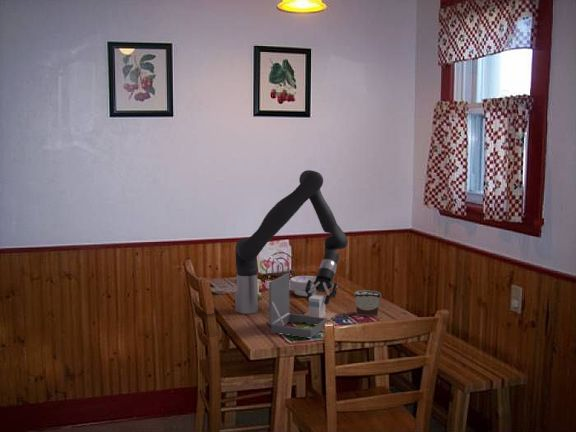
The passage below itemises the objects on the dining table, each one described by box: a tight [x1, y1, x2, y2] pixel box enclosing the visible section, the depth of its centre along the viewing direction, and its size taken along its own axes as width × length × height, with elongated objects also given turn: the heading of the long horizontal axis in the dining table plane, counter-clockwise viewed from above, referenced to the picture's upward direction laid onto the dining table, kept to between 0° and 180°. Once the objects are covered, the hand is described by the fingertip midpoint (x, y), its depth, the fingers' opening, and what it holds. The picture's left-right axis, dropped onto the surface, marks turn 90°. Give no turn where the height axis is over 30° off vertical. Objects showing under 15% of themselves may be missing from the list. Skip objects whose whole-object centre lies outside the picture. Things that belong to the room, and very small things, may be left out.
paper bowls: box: [289, 275, 317, 297], centre depth 324 cm, size 15×15×8 cm
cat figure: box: [257, 278, 267, 301], centre depth 326 cm, size 10×9×25 cm
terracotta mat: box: [303, 310, 338, 321], centre depth 286 cm, size 13×16×1 cm
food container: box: [353, 289, 382, 316], centre depth 292 cm, size 12×6×10 cm, turn 84°
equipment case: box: [268, 272, 328, 337], centre depth 268 cm, size 18×18×21 cm
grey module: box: [307, 293, 326, 318], centre depth 286 cm, size 5×7×9 cm
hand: (316, 303), depth 285 cm, fingers open, 7 cm apart
